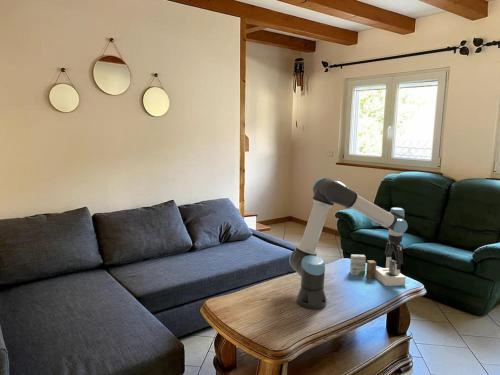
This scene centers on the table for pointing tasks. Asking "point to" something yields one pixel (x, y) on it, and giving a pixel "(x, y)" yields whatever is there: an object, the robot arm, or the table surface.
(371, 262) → the walnut square bar
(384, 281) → the socket block
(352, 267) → the ink box
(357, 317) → the table surface
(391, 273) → the round peg
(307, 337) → the table surface
